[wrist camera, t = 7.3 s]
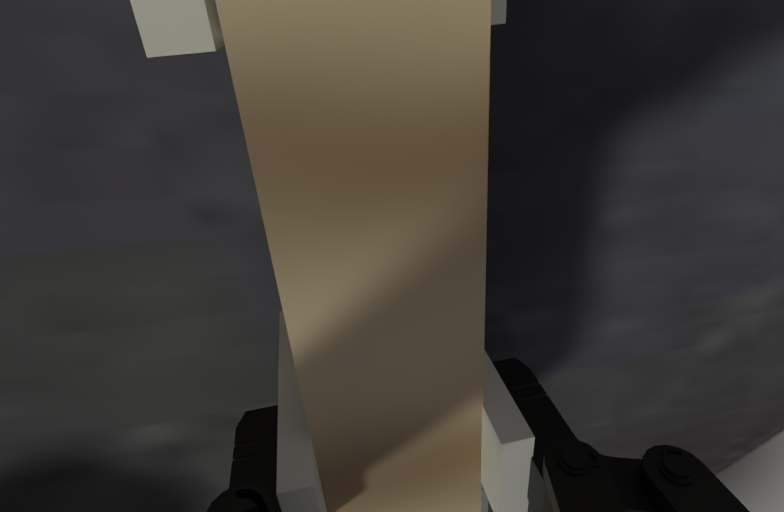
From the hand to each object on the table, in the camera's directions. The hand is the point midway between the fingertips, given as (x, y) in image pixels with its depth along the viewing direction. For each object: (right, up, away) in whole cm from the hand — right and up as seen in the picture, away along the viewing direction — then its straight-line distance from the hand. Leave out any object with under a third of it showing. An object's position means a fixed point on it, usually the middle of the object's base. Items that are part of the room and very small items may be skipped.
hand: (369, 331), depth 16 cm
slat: (0, 0, +1) cm, 1 cm away
